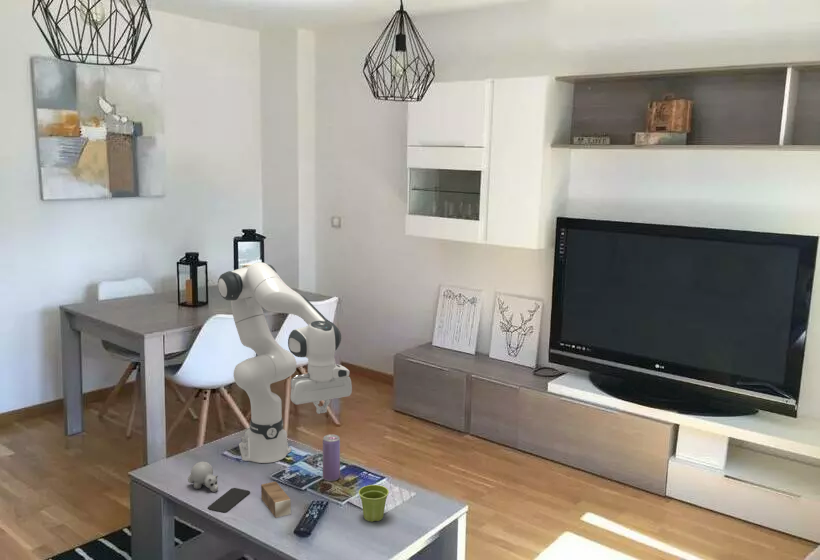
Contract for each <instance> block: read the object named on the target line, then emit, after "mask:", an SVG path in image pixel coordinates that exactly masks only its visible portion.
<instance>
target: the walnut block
mask: <svg viewBox="0 0 820 560" xmlns="http://www.w3.org/2000/svg"><path fill="white" fill-rule="evenodd" d="M260 490H261V491H260V493H261V494H260V497H261V500H262V502H263V503H264V504H265V506H266V508H268V510H269V511H270V512H271V514H272V515H273V517H274V518H276V519H277V518H280V517H285V516H288V515H291V513H292V512H291V511H292V506H291V505H292V504H291V503H292V502H291V498H290V497H289V495H287V493H286V492H285V491H284V490H283V488H282V487H281V486H280V485H279V483H278V482H277V480H276V481H270V482H266V483H262V484H261V485H260Z"/></svg>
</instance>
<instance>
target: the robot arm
mask: <svg viewBox="0 0 820 560" xmlns="http://www.w3.org/2000/svg"><path fill="white" fill-rule="evenodd" d="M217 289H218V292H219V295H220V296H221V297H222V299H224V300H225V301H230V305H231V312H232V317H233V321H234V325H235V328H236V331H237V335H238V337H239V340H240V343H241V344H242V346H244V347H247V348H249V349H251V350H253V352H254V353H256V355H257V356H253V357H249V358H247V359H245V360H242V361H240V362H239V363H238V364H236V365H235V366H234V369H233V379H234V382H235V384H236V385H237V386H238V388H240V389H242V390H243V391H245V392H246V394H247V396H248V398H249V401H250V402H249V403H250V414H251V415H250V416H251V418H250V422H249V428H248V429H247V430H246V431H245V433H244V436H241V441H240V442H239V444H238V447H239V452H240V456H241V459H242V461H244V462H245V461H246V462H247V461H248V462H253V463H260V464H261V463H262V464H270V463H274V462H275V463H276V462H278V461H281V460H283V459H284V458H286V456H287V455H288V454H289V453H291V452H292V447H290V446H289V445H288V434H287V433H288V432H287V431H286V430H285V429H284V418H283V417H282V411H283V409H282V399H281V397H280V396H279V395H278V394H277V393H275V392H272V390H271V384H274V383H277V382H280V381H283V380H285V379H287V378H290V377H291V376H293V374H295V372H296V371H297V360H296V357H297V358H307V373H304V374H297V375H294V376H293V377H292V378H291V379H290V388H291V389H290V401H291V402H292V403H293V404H294V405H297V406H298V405H303V404H309V403H313V405H314V406H315V409H316V413H317V414H318V415H319V414H324V413H327V412H328V411H327V410H328V409H327V408H328V406H329V405H330V403H331V400H333V399H340V398H346V397H350V396H351V395H352V393H353V392H352V391H353V385H352V379H351V377H350V370H349V369H348V368H347V367H345V366H343V365H341V364H338V363H336V359H335V354H336V353H335V352H336V351H337V350H338V348H339V347H340V345H341V342H342V334H341V333H342V332H341V331H340V328H339V327H338V326H337V325H335V323H333V322H332V321H330V320H328V318H326V317H325V316H324V315H323V314H322V313H321V312H320V311H319V310H318V308H316V307H315V305H313V304H312V302H310V301H309V299H307V298H306V297H305V296H304V295H303V294H301V293H299V292H298V291H295V290H294V289H292V288H291V287H290V286H288V285H287V284H286V283H285V281H284V280H282V278H281V277H280V276H279V274H278V273H277V271H276V269H275V267H274V266H272V265H271V264H267V263H265V262H263V261H262V262H261V261H260V262H255V263H253V264H251V265H248V266H244V267H241V268H237V269H234V270H232V271H230V270H228V271H226V272H224V273H222V274H220V276H219V277H218V279H217ZM263 309H264V310H266V311H268V312H271V313H281V314H290V315H294V316H297V317H299V318H301V320H303V322H305V323H306V324H307V325H306V326H302V327H300V328H299V327H298V328H295V329H293V330H292V331H290V333H289V335H288V339H287V340H288V341H287V346H288V350H286V349H285V348H284V347H282V346H281V345H280V344H279V343H278V342H277V340H276V339H275V338H274V336H273V334H272V332H271V330H270V328H269V324H268V321H267V320H266V318H267V317H266V316H265V313H264V310H263ZM321 401H324V403H323V404H322V405H321V406H319V405H320V402H321Z"/></svg>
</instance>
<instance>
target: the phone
mask: <svg viewBox="0 0 820 560" xmlns="http://www.w3.org/2000/svg"><path fill="white" fill-rule="evenodd" d="M250 494H251V491H250V490H247V489H241V488H238V487H232V488H229V489H228V490H227V491H226V492H225V493H224V494H222V495H221V496H220V497H218V498H217V499H216V500H215V501H213V502H212V503H211V504H210V505H208V506H207V510H208V509H209V511H214V512H217V513H224V514H227V513H228V512H229V511H231V510H232V509H234V507H236V506H237V505H238V504H239V503H241V502H242V501H244V499H246V498H247V497H248V496H249V495H250Z"/></svg>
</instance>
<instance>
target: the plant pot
mask: <svg viewBox="0 0 820 560" xmlns="http://www.w3.org/2000/svg"><path fill="white" fill-rule="evenodd" d="M389 492H390V490H389V489H388V488H387V487H385V486H384V485H380V484H368V485H365V486H362V487H360V488H359V490H358V496H359V498H360V500H361V507H362V514H363V518H364V520H365V521H368V522H372V523H373V522H376V521H377V522H380V521H381V520H382V519H384V514H385V508H386V507H385V506H386V501H387V498H388V496H389Z"/></svg>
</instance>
